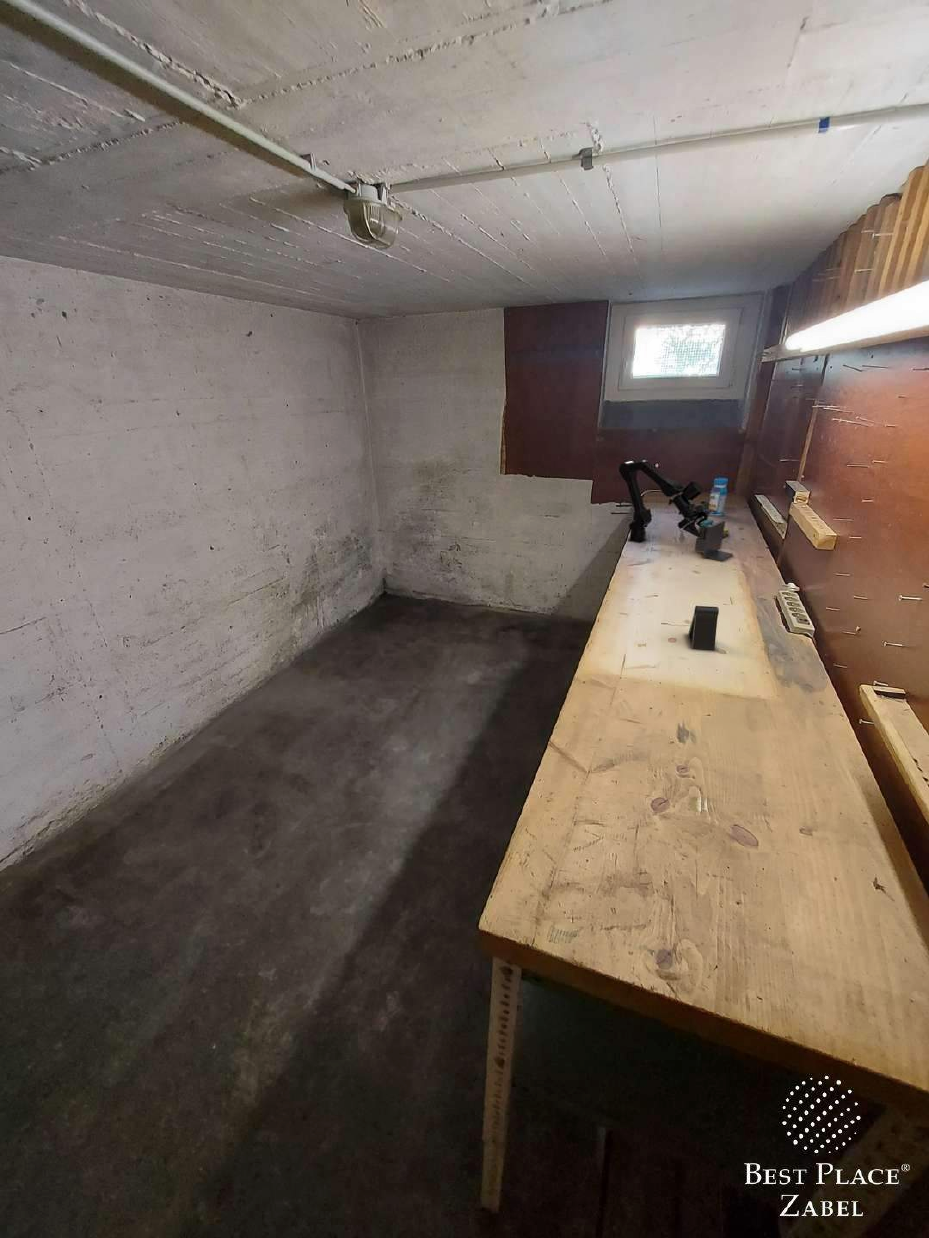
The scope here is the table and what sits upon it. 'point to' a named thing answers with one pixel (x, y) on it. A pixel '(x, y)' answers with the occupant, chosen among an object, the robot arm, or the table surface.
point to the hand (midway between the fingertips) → (704, 534)
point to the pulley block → (723, 531)
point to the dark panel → (715, 542)
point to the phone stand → (703, 627)
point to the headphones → (702, 535)
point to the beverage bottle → (718, 497)
